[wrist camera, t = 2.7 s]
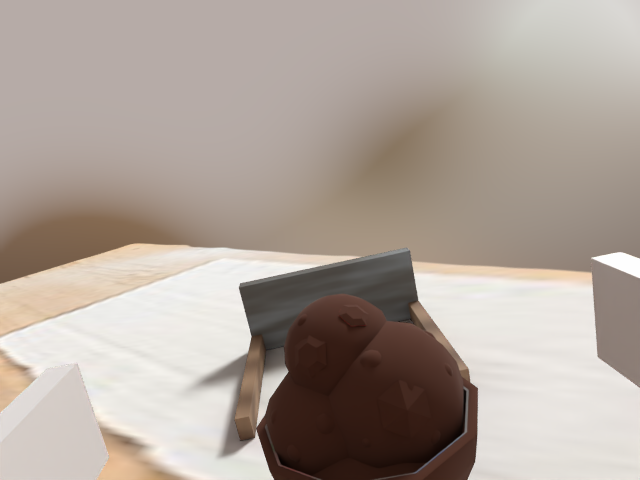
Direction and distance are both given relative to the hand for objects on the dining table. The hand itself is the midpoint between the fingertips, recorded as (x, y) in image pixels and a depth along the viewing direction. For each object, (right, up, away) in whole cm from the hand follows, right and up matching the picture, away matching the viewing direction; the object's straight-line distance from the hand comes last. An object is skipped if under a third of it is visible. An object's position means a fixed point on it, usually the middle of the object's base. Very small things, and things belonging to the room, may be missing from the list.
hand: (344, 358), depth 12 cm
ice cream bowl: (+4, -15, +14) cm, 20 cm away
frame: (+2, -10, +35) cm, 36 cm away
